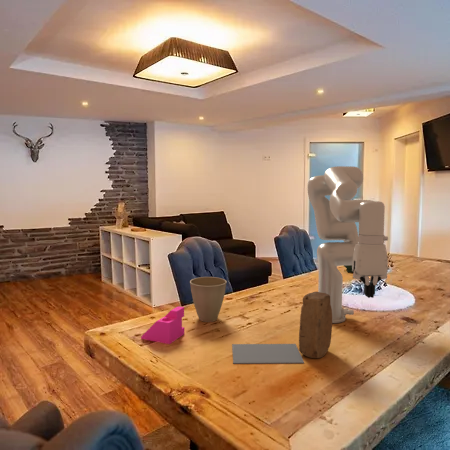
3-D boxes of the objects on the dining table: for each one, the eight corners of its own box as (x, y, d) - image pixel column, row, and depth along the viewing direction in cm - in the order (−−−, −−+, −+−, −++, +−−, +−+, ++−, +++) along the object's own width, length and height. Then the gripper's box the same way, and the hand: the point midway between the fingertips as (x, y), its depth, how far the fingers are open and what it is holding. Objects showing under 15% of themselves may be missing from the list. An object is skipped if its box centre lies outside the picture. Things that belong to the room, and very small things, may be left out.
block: (315, 361, 121) (319, 299, 119) (295, 353, 126) (298, 294, 124) (333, 352, 128) (337, 293, 126) (314, 344, 134) (317, 288, 132)
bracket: (184, 334, 144) (184, 307, 143) (169, 344, 135) (168, 315, 134) (157, 329, 149) (156, 303, 148) (141, 338, 140) (140, 311, 139)
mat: (295, 344, 134) (295, 343, 134) (304, 363, 120) (304, 362, 120) (232, 345, 134) (232, 344, 134) (233, 363, 120) (233, 362, 120)
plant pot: (197, 327, 150) (197, 287, 148) (185, 315, 164) (185, 278, 162) (232, 322, 156) (232, 283, 154) (218, 311, 170) (218, 275, 168)
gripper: (389, 238, 127) (387, 293, 129) (343, 238, 127) (342, 293, 129) (399, 241, 120) (397, 299, 121) (351, 241, 120) (350, 300, 121)
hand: (369, 296), depth 125 cm, fingers closed
